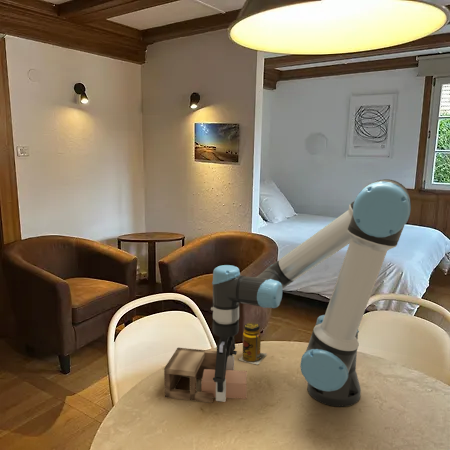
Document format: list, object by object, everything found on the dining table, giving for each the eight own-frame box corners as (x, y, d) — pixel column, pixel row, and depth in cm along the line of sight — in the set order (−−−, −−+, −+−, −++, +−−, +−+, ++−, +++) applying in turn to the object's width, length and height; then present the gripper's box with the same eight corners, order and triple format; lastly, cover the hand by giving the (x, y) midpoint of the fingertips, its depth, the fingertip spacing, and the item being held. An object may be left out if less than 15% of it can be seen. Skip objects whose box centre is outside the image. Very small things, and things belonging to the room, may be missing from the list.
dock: (221, 378, 130) (221, 351, 129) (212, 402, 118) (212, 373, 116) (178, 373, 133) (177, 347, 131) (164, 397, 120) (164, 368, 119)
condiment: (237, 360, 142) (238, 327, 140) (248, 349, 149) (248, 318, 147) (257, 365, 138) (258, 331, 136) (267, 354, 146) (268, 322, 144)
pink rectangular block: (246, 385, 127) (246, 370, 126) (246, 399, 120) (246, 383, 119) (204, 384, 128) (204, 369, 127) (201, 397, 121) (201, 381, 120)
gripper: (221, 302, 132) (221, 364, 136) (202, 337, 108) (202, 411, 112) (244, 304, 131) (244, 367, 135) (231, 339, 107) (230, 414, 111)
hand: (225, 387), depth 123 cm, fingers open, 13 cm apart
